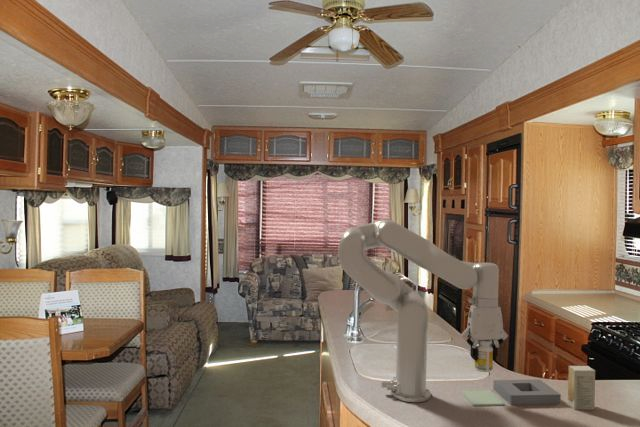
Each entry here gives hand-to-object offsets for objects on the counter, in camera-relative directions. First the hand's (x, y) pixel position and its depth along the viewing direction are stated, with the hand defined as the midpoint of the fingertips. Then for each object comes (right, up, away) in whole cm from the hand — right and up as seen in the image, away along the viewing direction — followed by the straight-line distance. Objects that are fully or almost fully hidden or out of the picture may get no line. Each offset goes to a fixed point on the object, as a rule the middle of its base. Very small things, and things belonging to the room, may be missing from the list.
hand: (483, 358), depth 151 cm
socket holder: (+14, -13, +3) cm, 20 cm away
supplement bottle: (0, -4, 0) cm, 4 cm away
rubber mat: (0, -13, +1) cm, 13 cm away
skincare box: (+28, -14, -4) cm, 32 cm away
